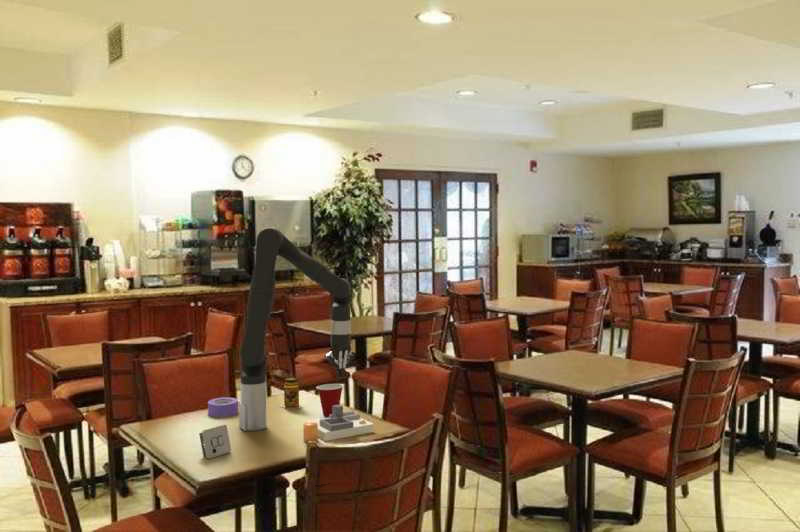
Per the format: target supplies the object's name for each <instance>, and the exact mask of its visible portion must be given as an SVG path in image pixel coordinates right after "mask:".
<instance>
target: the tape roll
mask: <svg viewBox="0 0 800 532" xmlns="http://www.w3.org/2000/svg"><path fill="white" fill-rule="evenodd" d="M207 413H208V416H210V417H216V418H217V417H218V418H222V417H224V418H225V417H231V416H234V415H237V414H239V400H238V398H236V397H228V396H227V397H217V398H212V399H210V400H208V401H207Z"/></svg>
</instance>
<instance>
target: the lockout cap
mask: <svg viewBox="0 0 800 532" xmlns="http://www.w3.org/2000/svg"><path fill="white" fill-rule="evenodd" d="M306 422H307V421H306ZM302 429H303V434H302V435H303V438H302V440H303V443H305V442H306V444H308V443H307V442H309V441H317V442H318V441H319V437H318V423H315V422H307V423H305V422H304V423H303V427H302Z"/></svg>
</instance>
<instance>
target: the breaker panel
mask: <svg viewBox="0 0 800 532" xmlns="http://www.w3.org/2000/svg"><path fill="white" fill-rule="evenodd" d="M307 422H315V423H318V439H320V440H322V441H324V442H326V441H333V440H338V439H344V438H348V437H353V436H360V435H364V434H370V433H375V431H374V429H375V428H374V426H375V425H374V423H373V422H371V421H368V420H366V419H364V418H362V417H361V414H360V413H355V411H354V410H351V411H343V416H340V417H334V418H332V414H330V415H329V417H326V418H319V419H314V420H308V421H305V422H304V423H307Z"/></svg>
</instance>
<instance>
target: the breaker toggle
mask: <svg viewBox="0 0 800 532" xmlns="http://www.w3.org/2000/svg"><path fill="white" fill-rule="evenodd" d="M343 412H344V405H342V404H340V405H333V406H332V418H334V417H340V416H343Z"/></svg>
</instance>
